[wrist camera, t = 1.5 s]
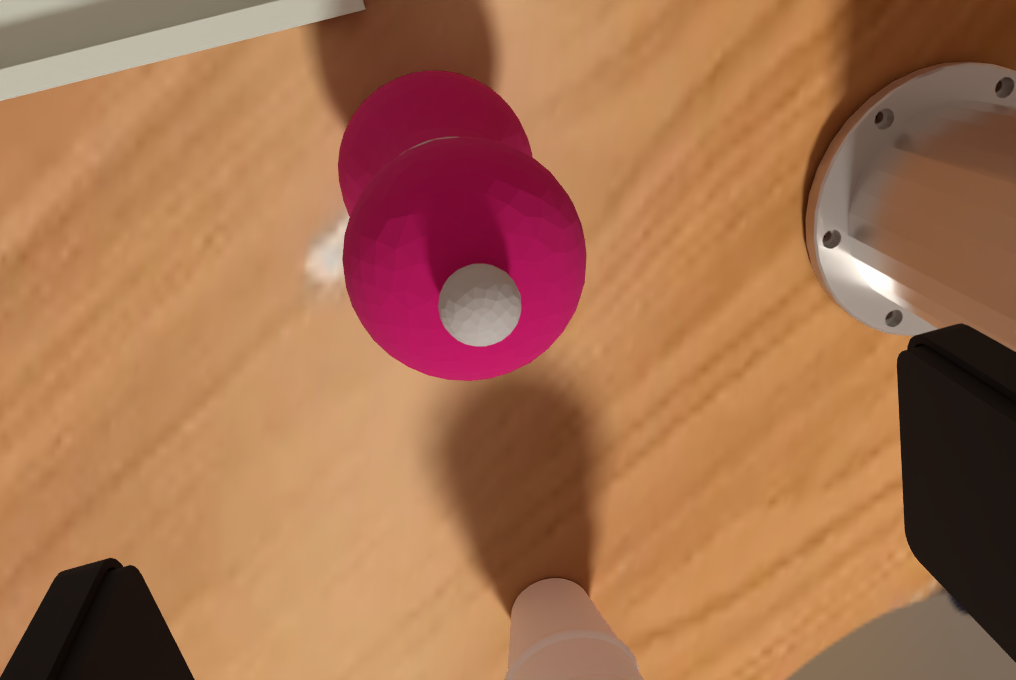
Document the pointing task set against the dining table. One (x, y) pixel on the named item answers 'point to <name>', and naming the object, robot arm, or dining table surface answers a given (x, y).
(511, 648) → the soft serve ice cream cone
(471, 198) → the pepper mill
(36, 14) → the tray
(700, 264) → the dining table surface
